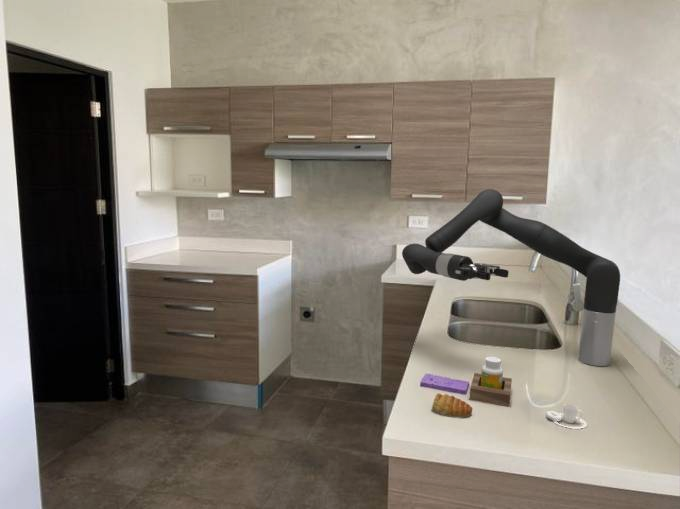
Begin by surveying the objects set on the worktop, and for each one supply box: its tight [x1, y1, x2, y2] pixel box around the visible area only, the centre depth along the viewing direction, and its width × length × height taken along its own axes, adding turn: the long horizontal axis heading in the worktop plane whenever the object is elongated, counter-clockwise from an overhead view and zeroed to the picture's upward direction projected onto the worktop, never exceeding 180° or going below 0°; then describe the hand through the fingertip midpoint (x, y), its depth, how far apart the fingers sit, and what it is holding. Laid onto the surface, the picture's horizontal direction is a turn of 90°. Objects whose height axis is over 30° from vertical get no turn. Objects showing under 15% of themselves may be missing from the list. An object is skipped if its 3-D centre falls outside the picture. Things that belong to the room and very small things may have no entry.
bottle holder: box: [469, 372, 513, 407], centre depth 138 cm, size 12×10×3 cm
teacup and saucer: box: [545, 403, 588, 430], centre depth 124 cm, size 9×8×4 cm
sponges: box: [419, 373, 470, 395], centre depth 142 cm, size 7×13×2 cm, turn 67°
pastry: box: [431, 393, 473, 418], centre depth 127 cm, size 9×7×4 cm
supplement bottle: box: [481, 356, 504, 389], centre depth 137 cm, size 5×5×10 cm
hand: (498, 275), depth 147 cm, fingers open, 8 cm apart
